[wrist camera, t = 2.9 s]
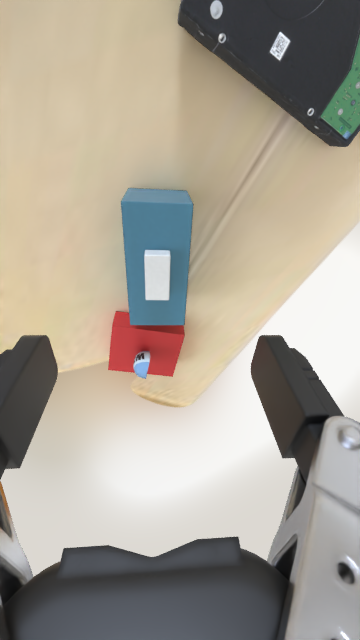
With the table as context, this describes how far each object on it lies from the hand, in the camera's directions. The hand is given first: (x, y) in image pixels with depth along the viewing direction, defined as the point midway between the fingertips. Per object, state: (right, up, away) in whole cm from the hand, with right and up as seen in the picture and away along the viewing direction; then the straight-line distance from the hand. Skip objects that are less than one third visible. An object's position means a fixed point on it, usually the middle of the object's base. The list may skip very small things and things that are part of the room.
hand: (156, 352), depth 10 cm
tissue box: (-1, +8, +16) cm, 18 cm away
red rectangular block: (-3, -1, +23) cm, 23 cm away
